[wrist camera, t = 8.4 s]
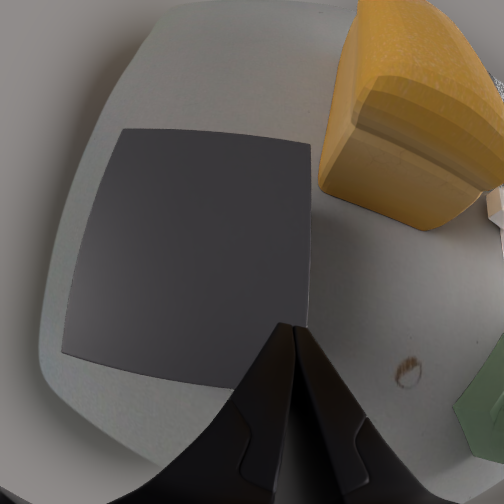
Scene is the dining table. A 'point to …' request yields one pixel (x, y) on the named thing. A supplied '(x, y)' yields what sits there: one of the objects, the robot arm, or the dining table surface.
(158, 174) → the fryer lid
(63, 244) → the dining table surface
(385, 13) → the bread
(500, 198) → the white circle with bar
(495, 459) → the control block
